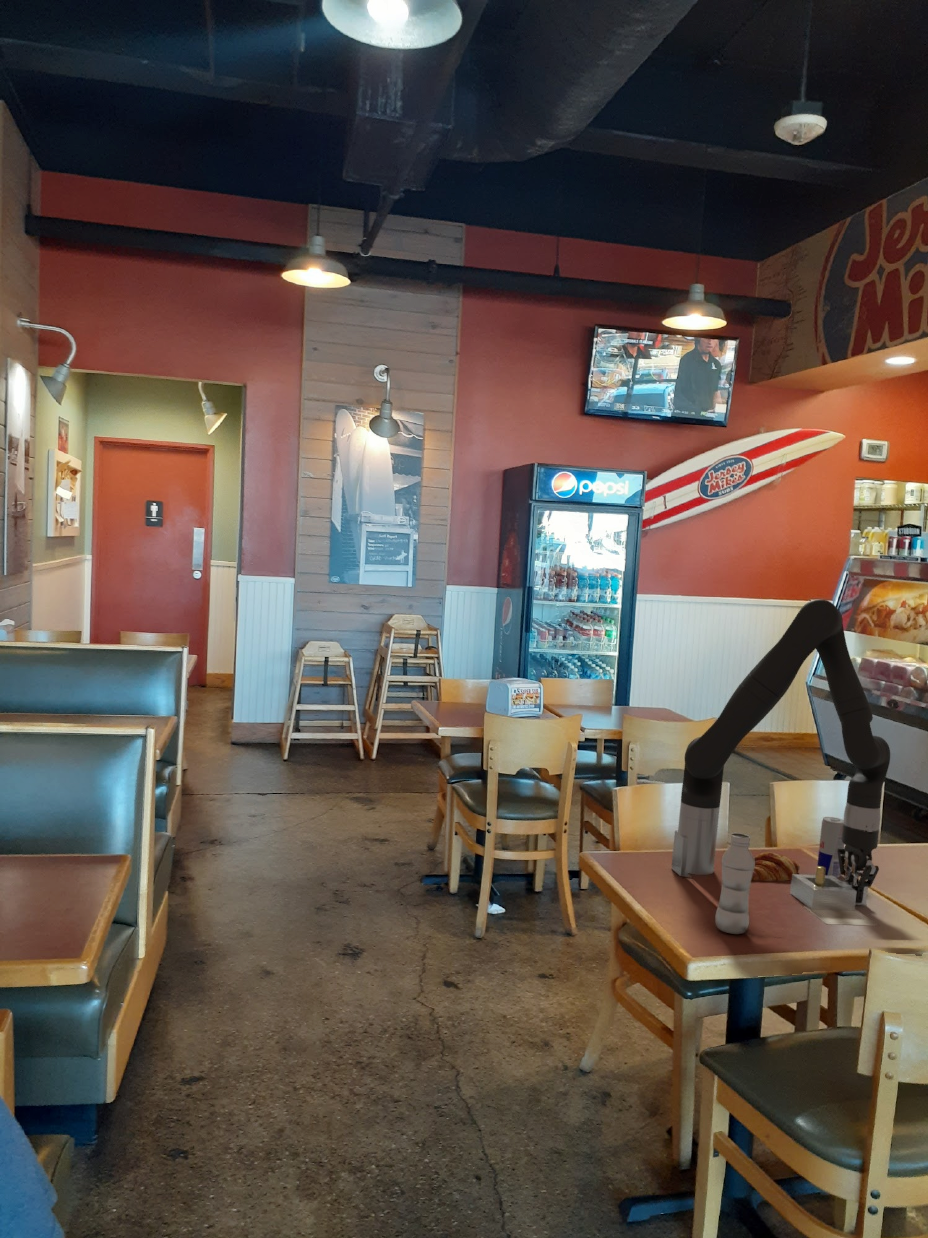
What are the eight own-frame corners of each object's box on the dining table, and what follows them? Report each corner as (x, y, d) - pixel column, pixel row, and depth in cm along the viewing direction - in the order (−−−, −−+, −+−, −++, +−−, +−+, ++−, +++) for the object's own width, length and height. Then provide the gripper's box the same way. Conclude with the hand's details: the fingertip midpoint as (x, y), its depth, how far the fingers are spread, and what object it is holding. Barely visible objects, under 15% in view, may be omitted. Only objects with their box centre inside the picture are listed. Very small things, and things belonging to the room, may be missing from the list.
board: (820, 930, 195) (820, 924, 194) (778, 897, 213) (778, 892, 213) (891, 933, 197) (891, 927, 197) (843, 900, 215) (843, 894, 215)
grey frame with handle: (811, 909, 203) (813, 889, 203) (790, 893, 213) (792, 874, 213) (875, 912, 205) (877, 892, 205) (851, 895, 215) (853, 876, 215)
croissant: (785, 882, 236) (775, 851, 239) (819, 875, 229) (808, 842, 232) (736, 894, 223) (726, 861, 225) (772, 887, 216) (761, 852, 218)
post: (815, 904, 208) (819, 868, 207) (811, 900, 210) (814, 865, 209) (823, 904, 208) (827, 869, 207) (819, 901, 210) (822, 866, 209)
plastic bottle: (709, 925, 193) (718, 830, 192) (740, 926, 193) (750, 832, 192) (720, 937, 186) (730, 839, 185) (753, 939, 187) (763, 841, 186)
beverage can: (836, 876, 233) (842, 817, 233) (843, 883, 228) (849, 823, 227) (813, 873, 234) (819, 815, 233) (819, 881, 228) (826, 821, 228)
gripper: (829, 815, 215) (821, 888, 216) (862, 833, 201) (854, 911, 202) (859, 816, 216) (852, 889, 217) (894, 834, 202) (886, 912, 203)
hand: (853, 899), depth 210 cm, fingers closed on grey frame with handle, 2 cm apart
